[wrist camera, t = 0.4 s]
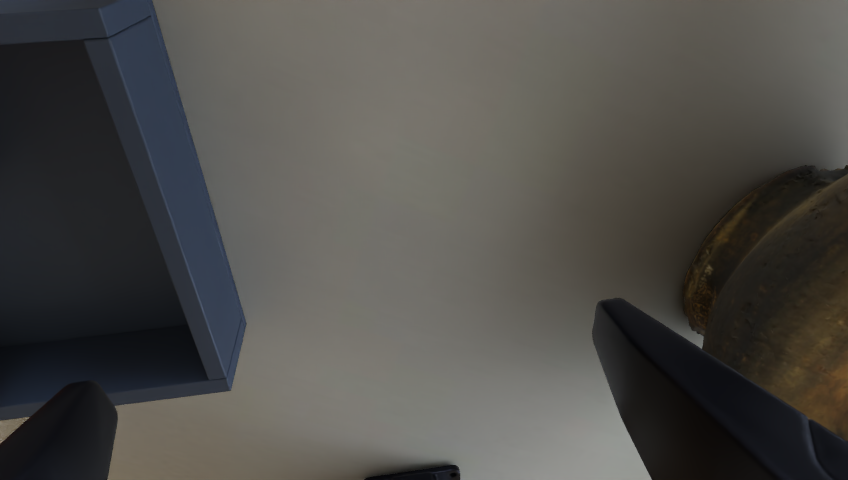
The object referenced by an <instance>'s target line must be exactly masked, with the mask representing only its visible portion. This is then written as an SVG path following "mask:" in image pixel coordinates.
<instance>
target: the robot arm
mask: <svg viewBox="0 0 848 480" xmlns="http://www.w3.org/2000/svg"><path fill="white" fill-rule="evenodd" d="M592 337H593V342H594V345H595V348H596V351H597V354H598V356H599V359H600V362H601V364H602V367H603V370H604V373H605V375H606V378H607V381H608V384H609V386H610V389H611V392H612V394H613V397H614V400H615V403H616V405H617V408H618V410H619V413H620V415H621V418H622V420H623V422H624V424H625V426H626V429H627V431H628V433H629V435H630V437H631V439H632V441H633V443H634V445H635V447H636V449H637V451H638V453H639V455H640V457H641V459H642V461H643V463H644V465H645V467H646V469H647V471H648V473H649V475H650V477H651V479H652V480H848V441H846V440H845V439H843V438H841V437H840V436H838V435H837V434H835V433H833V432H832V431H830V430H829V429H827V428H826V427H824V426H822V425H821V424H819V423H818V422H816V421H815V420H813V419H809V420H808V418H807V416H806V415H805V414H803V413H802V412H800V411H799V410H797V409H795V408H794V407H792V406H791V405H789V404H787V403H786V402H784V401H783V400H781V399H780V398H778V397H776V396H775V395H773V394H772V393H770V392H769V391H767V390H765V389H764V388H762V387H761V386H759V385H758V384H756V383H754V382H753V381H751V380H750V379H748V378H747V377H745V376H743V375H742V374H740V373H739V372H737V371H736V370H734V369H732V368H731V367H729V366H728V365H726V364H725V363H723V362H721V361H720V360H718V359H717V358H715V357H714V356H712V355H710V354H709V353H707V352H706V351H704V350H703V349H701V348H699V347H698V346H696V345H695V344H693V343H692V342H690V341H688V340H687V339H685V338H684V337H682V336H681V335H679V334H677V333H676V332H674V331H673V330H671V329H670V328H668V327H666V326H665V325H663V324H662V323H660V322H659V321H657V320H655V319H654V318H652V317H651V316H649V315H647V314H646V313H644V312H643V311H641V310H640V309H638V308H636V307H635V306H633V305H632V304H630V303H629V302H627V301H625V300H624V299H621V298H613V299H606V300H601V301H599V302H598V304H597V306H596V311H595V318H594V324H593V330H592ZM117 420H118V417H117V411H116V408H115V406H114V405H113V403H112V402H111V400H110V399H109V397H108V396H107V394H106V393H105V392H104V390H103V389H102V387H101V386H100V384H99V383H98V382H96V381H94V380H86V381H80V382H74V383H70V384H68V385H66V386H65V387H63V388H62V389H61V390H60V391H59V392H58V393H57V394H55V395H54V396H53V397H52V398H51V399H50V400H49V401H48V402H47V403H45V404H44V405H43V406H42V407H41V408H40V409H39V410H38V411H36V412H35V413H34V414H33V415H32V416H31V417H30V418H29V419H28V420H26V421H25V422H24V423H23V424H22V425H21V426H20V427H19V428H17V429H16V430H15V431H14V432H13V433H12V434H11V435H10V436H9V437H7V438H6V439H5V440H4V441H3V442H2V443H1V444H0V480H107V479H108V474H109V468H110V462H111V456H112V450H113V444H114V439H115V433H116V427H117ZM364 480H460V471H459V467H458V466H456V465H449V466H442V467H436V468H429V469H422V470H415V471H408V472H402V473H395V474H388V475H381V476H374V477H369V478H366V479H364Z"/></svg>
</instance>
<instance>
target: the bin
mask: <svg viewBox="0 0 848 480" xmlns="http://www.w3.org/2000/svg"><path fill="white" fill-rule="evenodd" d="M245 328H246V321H245V317H244V314H243V310H242V307H241V304H240V300H239V297H238V293H237V290H236V286H235V283H234V280H233V276H232V273H231V269H230V266H229V263H228V259H227V256H226V252H225V249H224V245H223V242H222V239H221V235H220V232H219V228H218V225H217V222H216V218H215V215H214V211H213V208H212V204H211V201H210V198H209V194H208V191H207V187H206V184H205V181H204V177H203V174H202V170H201V167H200V163H199V160H198V157H197V153H196V150H195V146H194V143H193V139H192V136H191V133H190V129H189V126H188V122H187V119H186V116H185V112H184V109H183V105H182V102H181V98H180V95H179V92H178V88H177V85H176V81H175V78H174V75H173V71H172V68H171V64H170V61H169V57H168V54H167V51H166V47H165V44H164V40H163V37H162V34H161V30H160V27H159V23H158V20H157V16H156V13H155V10H154V6H153V3H152V0H0V420H8V419H16V418H24V417H31V416H32V415H33V414H34V413H35V412H36V411H38V410H39V409H40V408H41V407H42V406H43V405H44V404H45V403H47V402H48V401H49V400H50V399H51V398H52V397H53V396H54V395H55V394H57V393H58V392H59V391H60V390H61V389H62V388H63V387H65V386H66V385H68V384H70V383H74V382H80V381H86V380H94V381H96V382H98V383H99V384H100V386H101V387H102V389H103V390H104V392H105V393H106V394H107V396H108V397H109V399H110V400H111V402H112V403H113V405H114V406H117V405H124V404H132V403H140V402H148V401H155V400H163V399H171V398H179V397H186V396H194V395H202V394H210V393H217V392H225V391H231V388H232V384H233V379H234V375H235V371H236V367H237V362H238V358H239V354H240V349H241V345H242V341H243V337H244V332H245Z"/></svg>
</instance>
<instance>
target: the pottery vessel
mask: <svg viewBox="0 0 848 480" xmlns="http://www.w3.org/2000/svg"><path fill="white" fill-rule="evenodd" d="M683 297H684V299H685V306H684V312H685V314H686V316H687V318H688V321H689V326H690V327H691V329H692V331H696V332H697V333H698V334H701V335H703V336H704V340H703V347H702V349H703V350H704V351H706V352H707V353H709V354H710V355H712V356H714V357H715V358H717V359H718V360H720V361H721V362H723V363H725V364H726V365H728V366H729V367H731V368H732V369H734V370H736V371H737V372H739V373H740V374H742V375H743V376H745V377H747V378H748V379H750V380H751V381H753V382H754V383H756V384H758V385H759V386H761V387H762V388H764V389H765V390H767V391H769V392H770V393H772V394H773V395H775V396H776V397H778V398H780V399H781V400H783V401H784V402H786V403H787V404H789V405H791V406H792V407H794V408H795V409H797V410H799V411H800V412H802V413H803V414H805V415H806V416H807V418H808V420H809V419H813V420H815V421H816V422H818V423H819V424H821V425H822V426H824V427H826V428H827V429H829V430H830V431H832V432H833V433H835V434H837V435H838V436H840V437H841V438H843V439H845V440H846V441H848V165H846V166H845V168H844V169H840V168H838V169H835V170H832V171H830V170H827V169H822V170H820V171H819V170H817V169H815V166H810V167H809V166H806V165H805V166H803V167H798V168H796V169H792V170H790V171H787V172H785V173H783V174H781V175H779V176H777V177H775V178H774V179H773V180H771V181H770V182H768V183H767V184H765V185H763V186H761V187H759V188H756V189H754V190H753V191H752V192H750V193H749V194H748V195H747V196H746V197H744V198H743V199H742V200H741V201H740V202H738V203H737V204H736V205H735V206H734V207H733V208H732V209H731V210H729V211H728V213H727V214H726V216H725V217H724V218H722V219H721V221H720V222H719V223H718V224H717V225H716V226H715V227H714V229H713V230H712V231H711V233H710V234H709V235H708V237H707V238H706V239H705V241H704V243H703V244H702V245H701V247H700V249H699V252H698V254H697V256H696V258H695V259H694V261H693V263H692V265H691V266H690V268H689V270H688V272H687V275H686V279H685V283H684V288H683Z"/></svg>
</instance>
